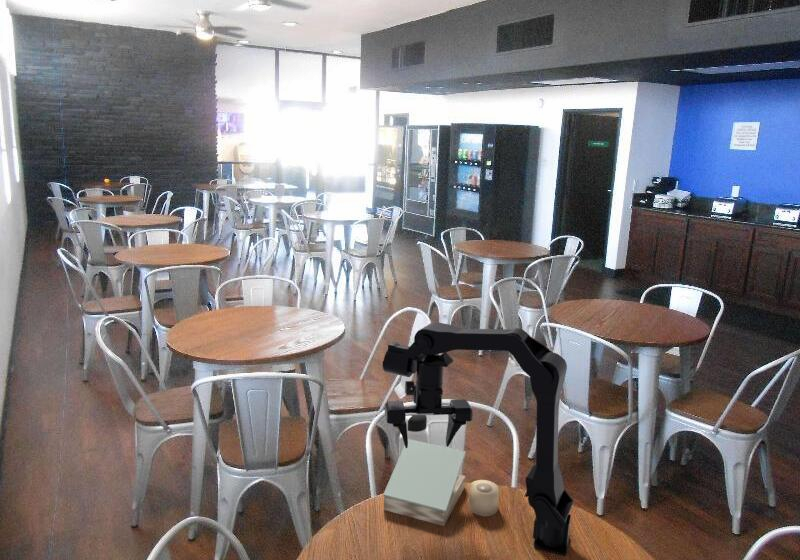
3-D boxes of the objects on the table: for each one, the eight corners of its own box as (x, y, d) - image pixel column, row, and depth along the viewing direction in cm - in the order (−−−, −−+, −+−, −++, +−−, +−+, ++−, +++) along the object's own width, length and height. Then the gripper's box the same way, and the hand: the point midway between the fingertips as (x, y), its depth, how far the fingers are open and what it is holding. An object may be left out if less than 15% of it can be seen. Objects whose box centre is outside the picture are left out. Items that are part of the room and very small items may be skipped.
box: (464, 487, 141) (465, 475, 140) (443, 526, 126) (444, 513, 125) (409, 473, 146) (410, 462, 145) (383, 509, 131) (384, 497, 130)
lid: (465, 453, 137) (465, 451, 136) (446, 512, 126) (445, 510, 125) (407, 440, 142) (407, 438, 142) (383, 496, 131) (383, 494, 130)
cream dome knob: (500, 503, 135) (501, 483, 134) (493, 519, 129) (495, 498, 128) (472, 496, 137) (474, 477, 136) (465, 512, 131) (466, 491, 130)
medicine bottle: (428, 451, 157) (429, 409, 154) (426, 465, 150) (428, 421, 147) (401, 449, 157) (402, 407, 155) (398, 463, 150) (399, 419, 148)
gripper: (463, 366, 137) (459, 428, 141) (383, 368, 135) (381, 430, 138) (475, 385, 126) (471, 452, 130) (388, 387, 124) (386, 455, 127)
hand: (426, 446), depth 132 cm, fingers open, 9 cm apart
